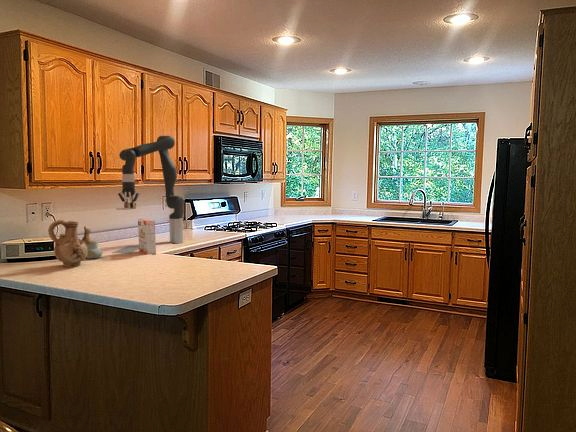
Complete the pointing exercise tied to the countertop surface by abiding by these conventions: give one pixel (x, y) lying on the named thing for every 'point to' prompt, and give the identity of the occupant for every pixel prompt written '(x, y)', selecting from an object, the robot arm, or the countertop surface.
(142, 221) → the cracker box
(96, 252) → the air freshener
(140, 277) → the countertop surface
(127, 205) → the turner
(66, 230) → the ceramic vessel
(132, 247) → the mat
